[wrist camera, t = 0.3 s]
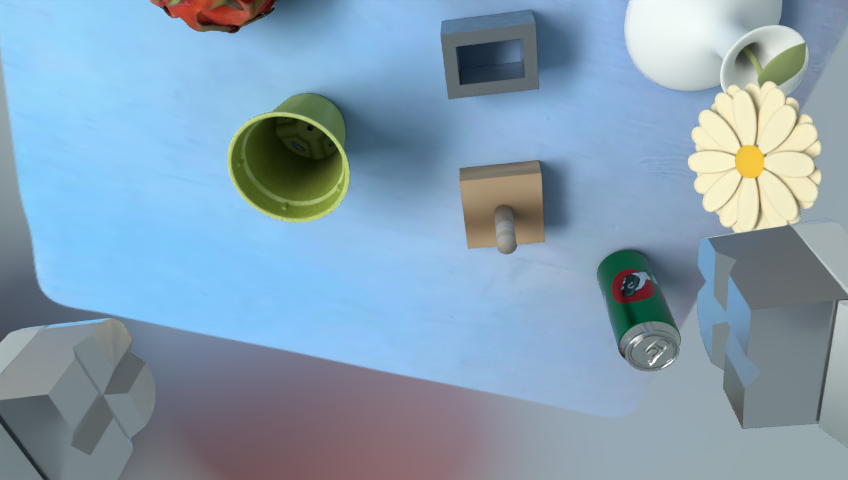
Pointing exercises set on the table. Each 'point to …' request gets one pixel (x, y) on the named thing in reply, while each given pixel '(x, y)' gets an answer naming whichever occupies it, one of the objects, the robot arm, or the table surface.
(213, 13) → the dragon fruit
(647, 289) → the soda can
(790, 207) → the flower in vase
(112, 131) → the table surface
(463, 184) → the block
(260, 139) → the plant pot
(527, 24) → the grey hollow rectangular block
